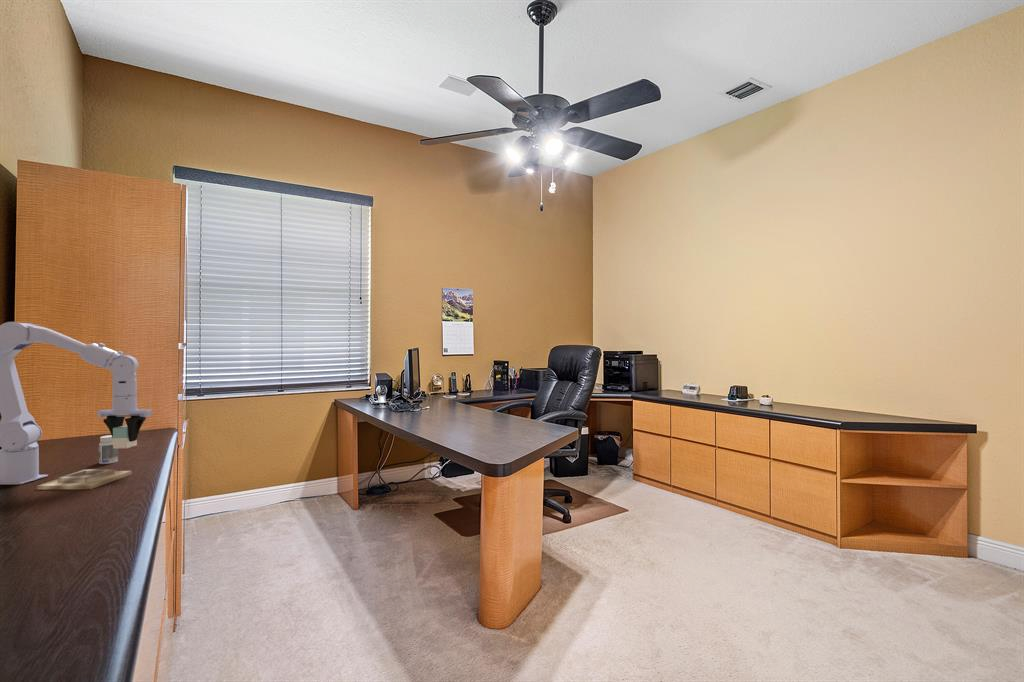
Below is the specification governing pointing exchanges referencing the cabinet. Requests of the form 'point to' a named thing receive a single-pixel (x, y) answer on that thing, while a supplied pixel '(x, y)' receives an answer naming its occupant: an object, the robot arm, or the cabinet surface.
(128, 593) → the cabinet surface
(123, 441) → the teal and cream block
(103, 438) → the pill bottle
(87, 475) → the base plate
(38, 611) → the cabinet surface
